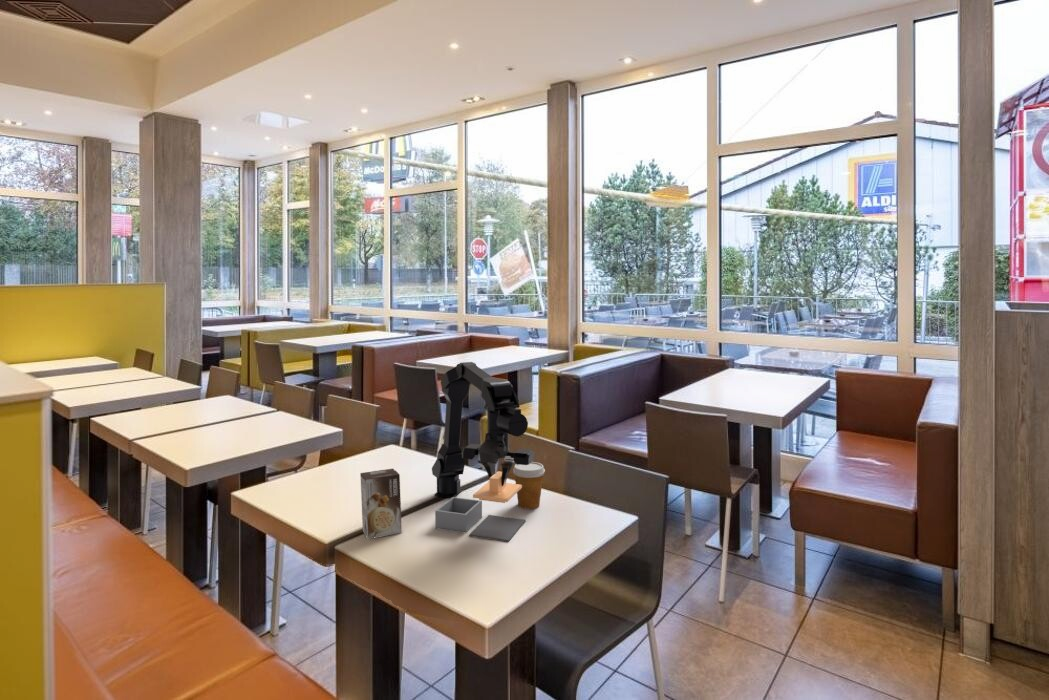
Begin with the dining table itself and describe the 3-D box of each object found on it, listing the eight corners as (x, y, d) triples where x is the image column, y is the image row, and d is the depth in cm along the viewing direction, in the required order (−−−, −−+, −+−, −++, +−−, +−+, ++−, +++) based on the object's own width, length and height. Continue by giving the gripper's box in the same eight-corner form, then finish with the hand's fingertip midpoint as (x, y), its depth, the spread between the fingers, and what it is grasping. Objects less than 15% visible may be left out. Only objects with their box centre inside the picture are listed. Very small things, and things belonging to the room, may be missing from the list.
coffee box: (395, 524, 162) (394, 467, 161) (402, 533, 157) (401, 474, 155) (361, 530, 158) (360, 472, 157) (367, 540, 153) (365, 479, 151)
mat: (469, 536, 155) (469, 534, 155) (488, 516, 168) (488, 514, 168) (508, 541, 152) (508, 539, 152) (525, 521, 165) (525, 519, 165)
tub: (435, 528, 160) (435, 510, 159) (452, 513, 170) (452, 496, 170) (466, 533, 157) (466, 514, 156) (482, 517, 167) (481, 500, 167)
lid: (472, 500, 155) (472, 479, 154) (489, 486, 166) (489, 467, 165) (507, 505, 152) (507, 483, 151) (521, 490, 163) (521, 470, 162)
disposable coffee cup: (545, 500, 181) (546, 461, 180) (543, 511, 172) (543, 471, 171) (514, 498, 182) (514, 460, 181) (511, 510, 173) (511, 470, 172)
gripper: (452, 432, 152) (453, 491, 154) (521, 438, 146) (521, 499, 148) (470, 422, 163) (470, 478, 165) (535, 428, 157) (534, 485, 159)
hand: (498, 485), depth 159 cm, fingers closed on lid, 2 cm apart
